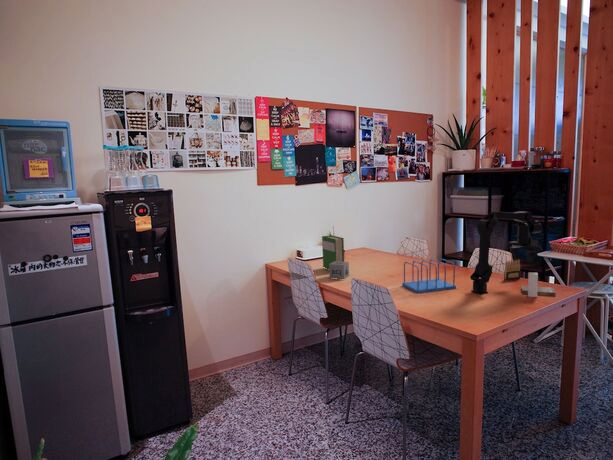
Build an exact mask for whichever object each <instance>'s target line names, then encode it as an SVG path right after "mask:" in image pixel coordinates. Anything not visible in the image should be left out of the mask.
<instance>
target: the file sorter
mask: <svg viewBox="0 0 613 460" xmlns="http://www.w3.org/2000/svg"><path fill="white" fill-rule="evenodd" d="M440 260H441V261H444V262H448V263H450V264H452V265H453V266H452V267H453V276H452V277H453V279H452V281H453V282H452V283H450V282H447V280H446V279H447V277H446V276H447V273H446V272H447V271H446V270H447V267H446V264H445V263H444V262H441V261H440ZM432 261H433V262H436V263H437V265H436V264H435V263H433V262H432ZM423 262H425V263H428V264H429V268H428V266H427V265H426V264H424V263H423ZM414 263H418V264H420V269H419V267H418V266H417V265H416V264H414ZM406 264H408V265H411V266H412V270H411V271H412V272H411V273H412V277H411V279H412V281H408V282H406ZM440 264H442V265H443V267H444V280H443V279H440ZM431 265H433V266H434V267H435V279H432V277H431V270H432V269H431V268H432V267H431ZM423 266H425V268H426V269H425V270H426V279H425V280H424V279H423ZM414 267H416V268H417V281H414V279H415V278H414V274H415V272H414ZM428 270H429V271H428ZM419 271H420V272H419ZM455 273H456V266H455V263H454V262H453V261H450V260H447V259H444V258H439V259H438V260H435V259H434V258H433V259H430V260H429V261H427V260H426V259H425V260H424V259H423V260H421V262H419V261H416V260H414V261H413V262H412V263H411V262H408V261H404V263H403V282H402V283H401V285H402V286H403V287H405V288H407V289H409V290H410V291H413V292H414V293H416V294H420V293H421V292H422V293H428V292H438V291H446V290H454V289H457V285H456V284H455V283H456V281H455V278H456V277H455V275H456V274H455ZM419 277H420V280H419ZM422 293H421V294H422Z"/></svg>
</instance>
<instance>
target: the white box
mask: <svg viewBox="0 0 613 460" xmlns="http://www.w3.org/2000/svg"><path fill="white" fill-rule="evenodd" d="M527 275H528V281H527V283H528V285H527V286H528V294H527V296H528V297H529V298H530V297H531V298H538V295H537V291H538V287H539V286H538V285H539V284H538V283H539V273H538V272H533V271H532V272H530V271H528V273H527Z"/></svg>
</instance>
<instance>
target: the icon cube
mask: <svg viewBox="0 0 613 460" xmlns="http://www.w3.org/2000/svg"><path fill="white" fill-rule="evenodd" d="M349 265H350V264H349V261H344V262H342V261H334V262H332V263H330V264H329V271H328V272H329V273H328V274H329V279H330V278H337V279H345V278H346V277H348V276H349V277H350V266H349ZM349 277H348V278H349ZM346 279H347V278H346ZM346 279H345V280H346Z"/></svg>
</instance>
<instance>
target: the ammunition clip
mask: <svg viewBox="0 0 613 460" xmlns="http://www.w3.org/2000/svg"><path fill="white" fill-rule="evenodd" d="M504 267H505V268H504V273H503V276H504V277H503V280H505V281H510V280H520V279H519V278H521V277H522V276H521V274H522V273H521V262H520V258H518V260H515V259H513V260H506V261H505V265H504Z"/></svg>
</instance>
